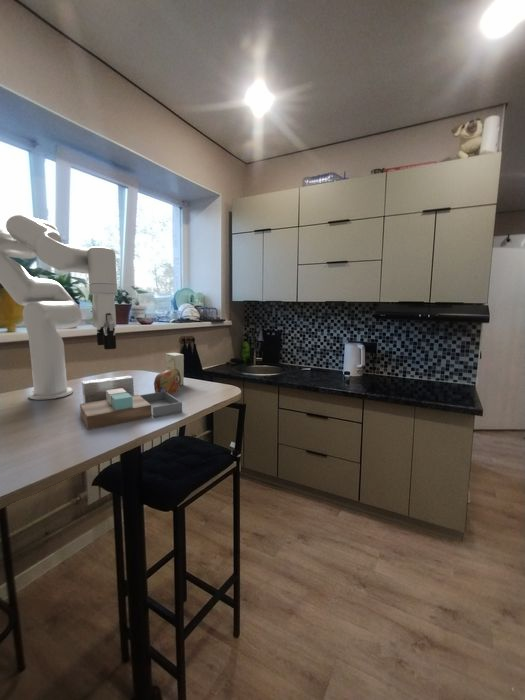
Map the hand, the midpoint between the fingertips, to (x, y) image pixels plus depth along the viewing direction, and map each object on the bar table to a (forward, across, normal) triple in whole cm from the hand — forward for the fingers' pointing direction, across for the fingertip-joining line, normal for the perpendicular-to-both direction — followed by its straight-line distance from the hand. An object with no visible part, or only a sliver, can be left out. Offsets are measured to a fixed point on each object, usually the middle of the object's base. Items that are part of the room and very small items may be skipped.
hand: (106, 346), depth 100 cm
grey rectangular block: (+18, 0, 0) cm, 18 cm away
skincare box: (+18, -11, +26) cm, 34 cm away
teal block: (+14, +16, 0) cm, 22 cm away
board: (+18, +13, -1) cm, 22 cm away
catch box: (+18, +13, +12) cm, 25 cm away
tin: (+18, 0, +19) cm, 26 cm away
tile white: (+15, +10, 0) cm, 18 cm away
